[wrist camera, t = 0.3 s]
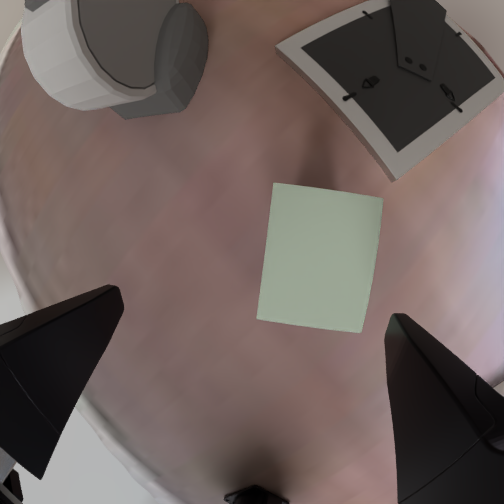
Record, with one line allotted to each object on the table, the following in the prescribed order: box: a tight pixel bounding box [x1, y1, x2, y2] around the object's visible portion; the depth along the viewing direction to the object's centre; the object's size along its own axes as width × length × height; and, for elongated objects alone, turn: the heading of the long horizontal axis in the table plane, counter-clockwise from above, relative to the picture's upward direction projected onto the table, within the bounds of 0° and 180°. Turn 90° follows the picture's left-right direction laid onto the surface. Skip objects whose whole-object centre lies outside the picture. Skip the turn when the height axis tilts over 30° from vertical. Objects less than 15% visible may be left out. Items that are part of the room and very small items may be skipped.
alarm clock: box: [21, 0, 208, 120], centre depth 14 cm, size 16×10×18 cm, turn 176°
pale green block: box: [257, 183, 383, 333], centre depth 16 cm, size 5×4×13 cm
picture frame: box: [275, 0, 504, 182], centre depth 18 cm, size 16×3×21 cm
